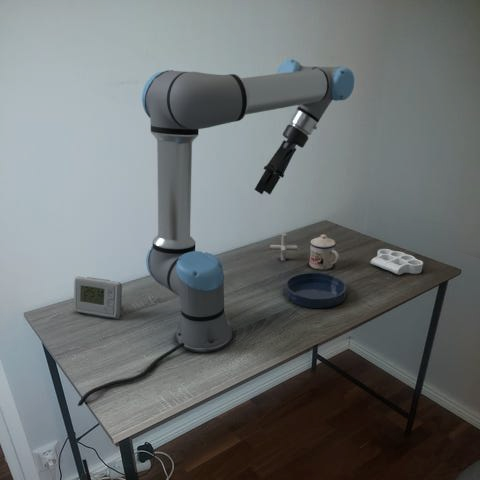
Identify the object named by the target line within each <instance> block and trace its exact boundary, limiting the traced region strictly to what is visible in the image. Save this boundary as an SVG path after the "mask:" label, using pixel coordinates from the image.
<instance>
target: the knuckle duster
mask: <svg viewBox="0 0 480 480" xmlns="http://www.w3.org/2000/svg"><path fill="white" fill-rule="evenodd" d="M370 264H371V265H372V266H376V267H378V268H381V269H383V270H385V271H388V272H390V273H393V274H395V275H397V276H399V275H403V274H410V275H411V274H412V275H417V274H421V273H422V270H423V266H424V261H422V260H420V259H417V258H416V257H415V256H413V255H412V254H407V253H405V252H403V251H398V250H391V249H389V248H380V249H378V250H377V254H376V256H375V257H373V258H372V259H370Z"/></svg>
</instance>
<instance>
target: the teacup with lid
mask: <svg viewBox="0 0 480 480" xmlns="http://www.w3.org/2000/svg"><path fill="white" fill-rule="evenodd" d="M309 244H310V248H309V249H310V250H309V266H310V267H311V268H312V269H315V270H321V271H322V270H323V271H325V270H329V269H331V268H333V266H334V265H335V264H336V263H338V261H339V259H340V254H339V253H338V251H336V245H337V243H336V241H335V240H334V239H332V238H329V237H327V235H326V234H320V236H318V237H315V238H312V239H311V240H310V242H309Z"/></svg>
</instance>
